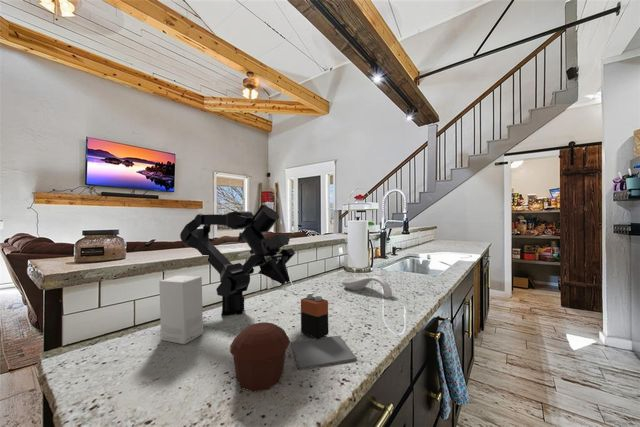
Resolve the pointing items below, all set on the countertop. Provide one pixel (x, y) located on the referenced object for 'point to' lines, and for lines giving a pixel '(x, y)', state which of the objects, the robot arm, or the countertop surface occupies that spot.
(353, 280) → the spoon rest
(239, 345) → the muffin
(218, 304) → the countertop surface
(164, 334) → the skincare box
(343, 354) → the rubber mat
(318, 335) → the battery
